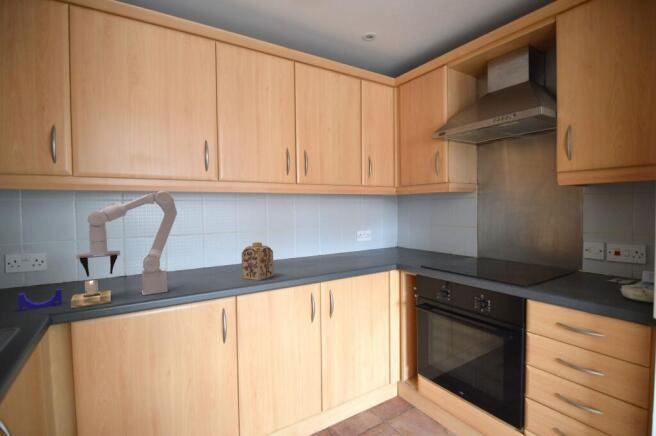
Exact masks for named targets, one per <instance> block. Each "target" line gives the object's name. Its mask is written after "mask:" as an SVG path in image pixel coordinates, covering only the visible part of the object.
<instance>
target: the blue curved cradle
mask: <svg viewBox="0 0 656 436" xmlns="http://www.w3.org/2000/svg"><path fill="white" fill-rule="evenodd" d="M62 291H63V289H62V288H56V289H55V294H54V295H53V296H52V297H51V298H49V299H47V300H44V301H41V302H35V301H31V300H30V299H29V298H27V296H26V293H25V292H23V293H21V292H20V293H18V295H17V298H18V299H17V301H18V312H23V311H24V312H25V311H30V310H35V309H43V307H44V308H49V307H48V306H50V307H55V305H57V304H58V305H57V306H62V305H63V295H62V294H63V292H62ZM24 307H25V308H24Z"/></svg>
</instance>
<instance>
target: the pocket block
mask: <svg viewBox="0 0 656 436" xmlns="http://www.w3.org/2000/svg"><path fill="white" fill-rule="evenodd" d="M111 293H112V291H111V289H110V290H109V289H108V290H100V291H98V296H93V297H86V296H85V293H79V294H73V295H72V298H71V300H70V307H71V308H70V309H71V310H73V309H72V308H74V309H80V308H81V309H82V308H89V307H94V306H101V305H106V304H107V305H108V304H111V303H112V296H111V295H112V294H111Z"/></svg>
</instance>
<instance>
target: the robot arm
mask: <svg viewBox="0 0 656 436" xmlns="http://www.w3.org/2000/svg"><path fill="white" fill-rule="evenodd" d="M155 203H156V205H158V206H159V207H160V208H161V210H162V212H163V213H164V215H163V217H162V220H161V223H160V226H159V228H158V231H157V232H156V235H155V237H154V240H153V243H152V245H151V248H150V250H149V253H148V255H146V256H145V257H144V259H143V262H142V267H143V270H142V272H141V274H142V277H141V278H142V290H141V294H142V296H146V295H153V294H160V293H168V273H167V270H162V269H161V268H160V267H161V261H160V260H161V258H162V253H163V252H164V248H165V246H166V243H167V241H168V239H169V235H170V233H171V230H172V228H173V225H174V222H175V221H176V218H177V215H178V211H177V208H176V204H175V200H174V198H173V196H172V195H171V193H170V192H169V191H167V190H159V191H158V192H152V193H148V194H144V195H142V196H139V197H137V198H135V199H133V200H130V201H128V202H125V203H120V202H117V203H116V202H113V203H111V205H109V206H107V207H104V208H98V211H97V210H96V211H93V212H91V213H89V215H88V217H87V222H88V223H89V225H88V226H89V227H88V228H89V230H88V237H89V241H88V242H89V252H82V253H75V259H76V260H79V262H80V264H81V265H82V267H83V269H84V271H85V274H86V277H90V269H89V259H90V258H91V259H92V258H104V257H109V264H110V265H109V267H110V269H109V274H110V275H113V270H114V266H115V264H116V261H117V260H118V257H119V256H121V250H108V239H107V229H106V223H107V222H108V223H110V222H112V221H115V220H118V219H119V218H123V217H124V216H126V215H127V213H128V211H130V210H133V209H136V208H139V207H142V206H144V205H146V204H147V205H148V204H149V205H155Z"/></svg>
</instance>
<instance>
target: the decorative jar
mask: <svg viewBox="0 0 656 436" xmlns="http://www.w3.org/2000/svg"><path fill="white" fill-rule="evenodd" d="M274 268H275V267H274V251H273V249H271V247H270V246H268V245H263V243H262V242H259V241H258V242H255V241H254V242H252V245H249V246H246V247H245V248H244V249H243V250H242V252H241V277H242V279H244V280H250V281H252V280H253V281H263V280H265V279H268V278H273V277H274V275H275V274H274V271H275V270H274Z"/></svg>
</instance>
